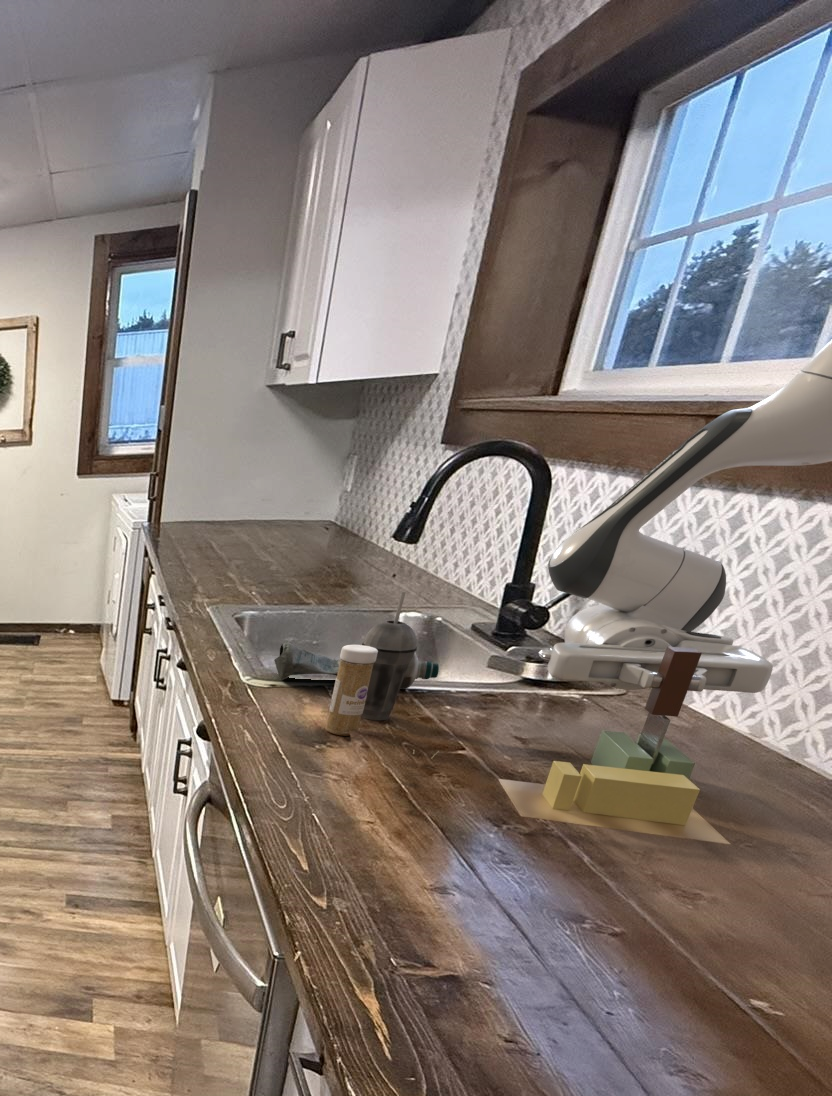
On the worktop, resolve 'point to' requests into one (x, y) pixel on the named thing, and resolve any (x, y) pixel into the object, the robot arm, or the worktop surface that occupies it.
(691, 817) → the butter board
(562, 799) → the butter slice
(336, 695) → the sprinkles bottle
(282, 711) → the worktop surface
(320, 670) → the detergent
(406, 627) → the beverage cup
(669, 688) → the wood-handled putty knife
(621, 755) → the knife block
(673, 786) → the butter
